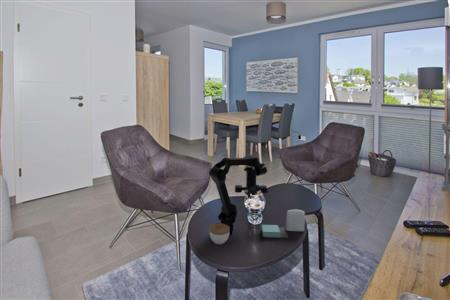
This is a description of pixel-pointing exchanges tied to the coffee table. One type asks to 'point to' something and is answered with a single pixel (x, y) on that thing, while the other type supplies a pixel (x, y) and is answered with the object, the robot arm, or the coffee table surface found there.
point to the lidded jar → (219, 233)
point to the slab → (270, 231)
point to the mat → (281, 233)
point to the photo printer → (295, 220)
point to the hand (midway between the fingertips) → (250, 202)
